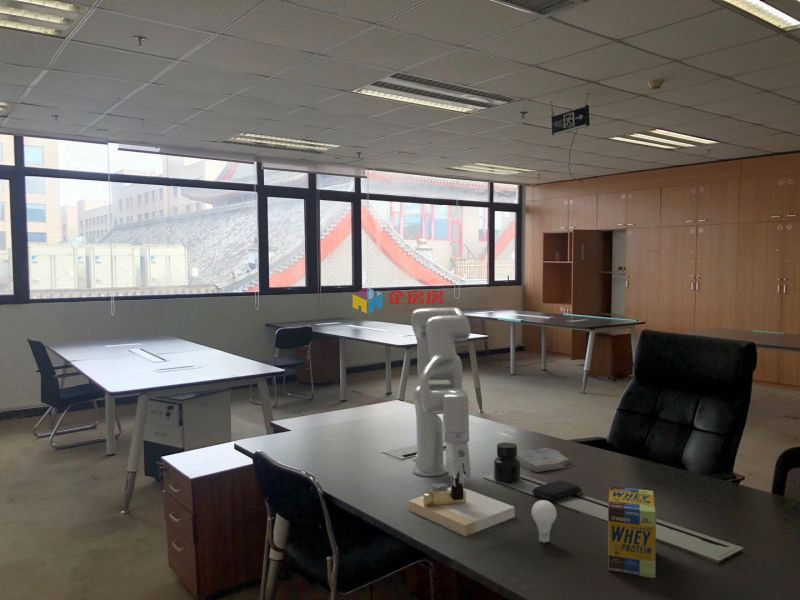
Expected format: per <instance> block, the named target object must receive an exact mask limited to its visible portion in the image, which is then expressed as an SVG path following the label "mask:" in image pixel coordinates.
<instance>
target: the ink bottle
mask: <svg viewBox="0 0 800 600" xmlns="http://www.w3.org/2000/svg"><path fill="white" fill-rule="evenodd" d="M517 451H518V444H516V443H514V442H499V443H497V444H496V456H497V457H496V458H494V461H493V477H494V479H493V480H495V481H496V482H498V481H499V482H498V483H501V482H503V483H502V484H515V483H518V482H520V481H521V466H520V461H519V459H517V457H516V456H517Z"/></svg>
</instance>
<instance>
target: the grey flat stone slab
mask: <svg viewBox="0 0 800 600" xmlns="http://www.w3.org/2000/svg"><path fill="white" fill-rule="evenodd" d="M516 457H517V459H519V461H520V467H522V468H525V470H528V469H529V470H528V471H530V470H531V472H533V471H534V472H533V473H535V472H537V473H539V472H545V471H551V470H560V469H561V468H562V469H566V467H567V468H572V467H573V464H572V462H571V461H572V460H571V458H568V457H566V456H565V455H564V454H562V452H560V451H558V450H556V449H552V448H548V447H541V448H540V447H539V448H534V449H528V450H527V449H525V450H524V449H522V450H517V456H516Z"/></svg>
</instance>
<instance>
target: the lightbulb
mask: <svg viewBox="0 0 800 600" xmlns="http://www.w3.org/2000/svg"><path fill="white" fill-rule="evenodd" d="M557 514H558V513H557V508H556V506H555V505H554V504H553V503H552V502H549V501H546V500H543V499H540V500H537V501H536V502H535V503H534V504H533V505H532V508H531V517H532V519H533V521H534V522H535V524H536V527H537V531H538V541H539V542H541V543H543V544H546V543H548V542H550V532H551V529H552V526H553V524H554V522H555V520H556V518H557Z"/></svg>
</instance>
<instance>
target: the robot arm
mask: <svg viewBox="0 0 800 600" xmlns="http://www.w3.org/2000/svg"><path fill="white" fill-rule="evenodd" d="M410 317H411V318H410V319H411V321H410V323H411V327H412V330H413V333H414V336H415V338H416V344H417V346H416V347H417V350H416V351H417V353H416V356H417V358H416V359H417V361H416V362H417V364H416V365H417V374H418V377H419V385H417V386H416V387H414V388H415V389H414V391H413V402H414V408H415V418H416V419H415V421H416V454H415V455H414V457H412V458H411V461H412V462H414V463H415V465H414V466H413V467H412V472H413V473H414V474H415V475H417V476H421V477H428V478H429V477H430V478H432V477H439V476H443V475H446V474H447V473H449V474H450V484H451V485H450V487H451V498H452V499H453V500H462V499H463V488H464V484H465V477H466V478H470V477H471V464H470V463H471V462H470V461H471V460H470V452H469V451H470V450H469V442H470V416H469V415H470V413H469V411H470V410H469V409H470V408H469V407H470V405H469V404H470V403H469V401H470V400H469V395H468V393H467V392H466V391H465V390H464V389H463V363H462V360H461V357H460V356H459V355H458V354H457V351H456V345H455V342H456V341H457V342H461V341H463V342H464V341H468V339H470V335H471V325H470V322H469V319H468V317H467V315H466V314H465V313H464V312H463V311H462V310H461V309H460V308H459V307H421V308H417V309H415V310H413V311H412V312H411V316H410ZM430 381H448V382H445V383H444V382H441V383H439V382H438V383H437V382H436V383H430ZM439 415H442V418H441V417H440V416H439ZM444 443H445V464H444ZM464 476H465V477H464Z"/></svg>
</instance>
